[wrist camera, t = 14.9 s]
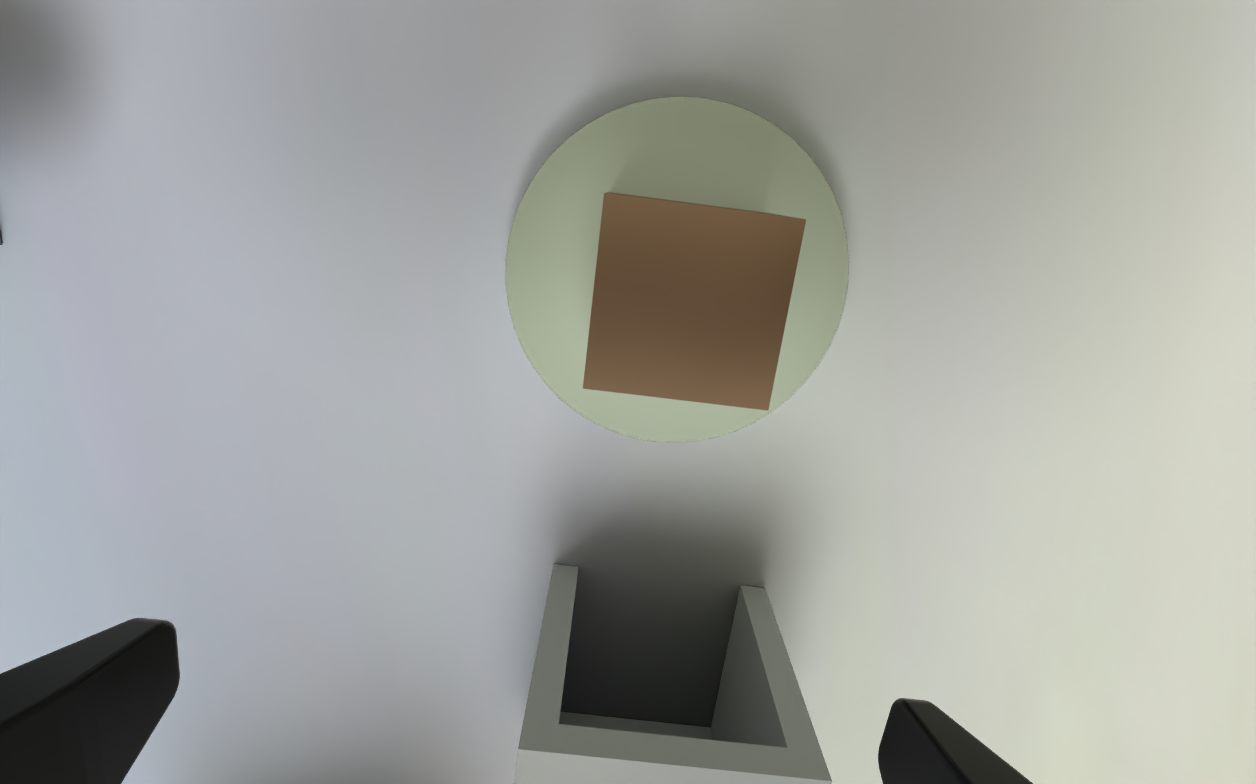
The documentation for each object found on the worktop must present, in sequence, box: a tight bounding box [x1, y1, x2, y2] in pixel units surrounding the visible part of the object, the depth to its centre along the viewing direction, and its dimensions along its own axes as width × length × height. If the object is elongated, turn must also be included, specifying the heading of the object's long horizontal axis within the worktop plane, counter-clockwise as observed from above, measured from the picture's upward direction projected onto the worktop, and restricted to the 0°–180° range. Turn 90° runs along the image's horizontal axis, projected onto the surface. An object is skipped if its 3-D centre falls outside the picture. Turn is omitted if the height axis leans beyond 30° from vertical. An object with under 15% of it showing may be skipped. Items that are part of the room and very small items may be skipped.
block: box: [583, 192, 806, 411], centre depth 15 cm, size 4×4×4 cm
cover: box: [514, 564, 832, 784], centre depth 19 cm, size 7×7×7 cm
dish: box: [506, 96, 849, 443], centre depth 18 cm, size 9×9×1 cm
